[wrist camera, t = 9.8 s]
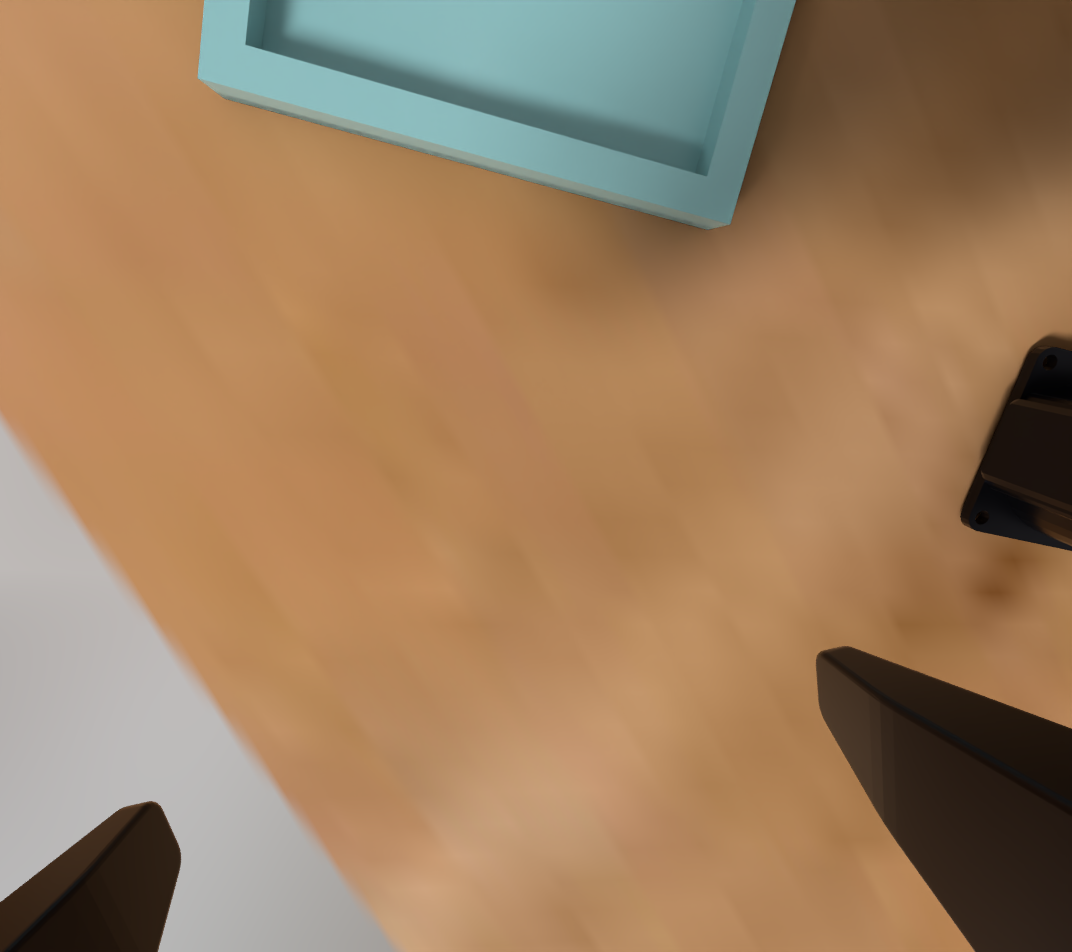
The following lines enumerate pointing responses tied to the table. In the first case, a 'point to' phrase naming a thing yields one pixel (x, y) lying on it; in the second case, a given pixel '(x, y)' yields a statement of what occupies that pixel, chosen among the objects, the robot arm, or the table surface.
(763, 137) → the table surface
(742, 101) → the tray
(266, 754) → the table surface
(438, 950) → the table surface
